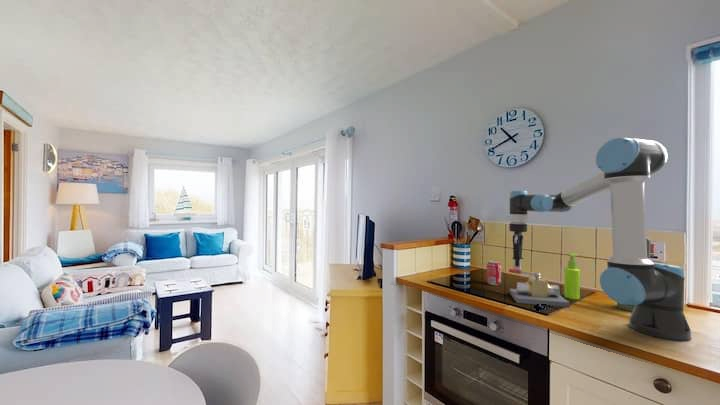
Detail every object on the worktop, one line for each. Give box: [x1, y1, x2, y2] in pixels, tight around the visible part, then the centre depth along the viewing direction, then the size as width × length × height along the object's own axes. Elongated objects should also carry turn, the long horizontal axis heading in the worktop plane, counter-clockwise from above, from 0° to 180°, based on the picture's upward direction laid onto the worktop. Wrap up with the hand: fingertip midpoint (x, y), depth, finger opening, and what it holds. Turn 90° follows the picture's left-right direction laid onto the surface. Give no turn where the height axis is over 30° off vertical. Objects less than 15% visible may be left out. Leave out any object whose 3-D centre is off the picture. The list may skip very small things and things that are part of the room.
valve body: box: [516, 277, 561, 298], centre depth 140 cm, size 6×16×8 cm, turn 75°
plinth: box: [509, 288, 571, 308], centre depth 140 cm, size 16×20×2 cm
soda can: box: [486, 260, 502, 286], centre depth 166 cm, size 7×7×12 cm
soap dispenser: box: [563, 253, 583, 300], centre depth 144 cm, size 6×7×20 cm
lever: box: [508, 268, 542, 278], centre depth 144 cm, size 13×3×2 cm, turn 43°
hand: (517, 272), depth 148 cm, fingers closed
